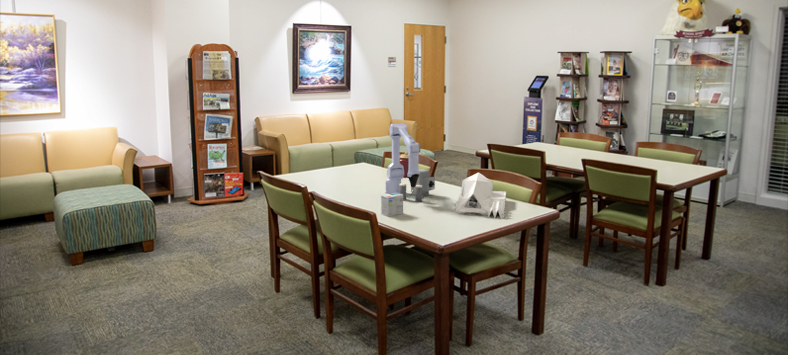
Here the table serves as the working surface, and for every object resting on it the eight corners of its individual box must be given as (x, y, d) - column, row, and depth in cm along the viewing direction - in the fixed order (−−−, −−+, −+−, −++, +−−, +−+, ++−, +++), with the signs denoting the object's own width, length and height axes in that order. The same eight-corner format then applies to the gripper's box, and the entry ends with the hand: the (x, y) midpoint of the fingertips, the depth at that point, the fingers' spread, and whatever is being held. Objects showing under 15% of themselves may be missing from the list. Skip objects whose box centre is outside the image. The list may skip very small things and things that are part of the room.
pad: (407, 197, 346) (407, 197, 346) (409, 195, 351) (409, 195, 351) (420, 198, 343) (420, 198, 343) (423, 197, 347) (423, 196, 347)
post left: (398, 199, 340) (398, 184, 338) (400, 198, 344) (401, 183, 342) (404, 200, 339) (404, 185, 337) (407, 198, 342) (407, 183, 340)
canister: (395, 174, 416) (395, 150, 412) (412, 173, 419) (412, 150, 415) (399, 178, 403) (400, 153, 400) (417, 177, 406) (417, 152, 403)
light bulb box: (396, 211, 315) (396, 192, 312) (403, 213, 309) (403, 194, 307) (380, 214, 308) (380, 194, 306) (388, 217, 303) (388, 197, 301)
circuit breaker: (429, 197, 345) (429, 173, 342) (411, 194, 355) (411, 170, 352) (436, 195, 351) (437, 171, 348) (418, 192, 360) (419, 168, 357)
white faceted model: (504, 219, 301) (505, 188, 297) (454, 216, 306) (454, 186, 303) (506, 200, 340) (508, 173, 337) (462, 198, 346) (462, 171, 343)
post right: (413, 201, 336) (414, 186, 335) (416, 199, 340) (416, 184, 338) (420, 202, 335) (420, 186, 333) (423, 200, 339) (423, 185, 337)
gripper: (415, 166, 321) (415, 190, 324) (424, 162, 334) (424, 185, 337) (404, 165, 324) (403, 188, 326) (413, 161, 337) (412, 184, 339)
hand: (413, 186), depth 332 cm, fingers closed
